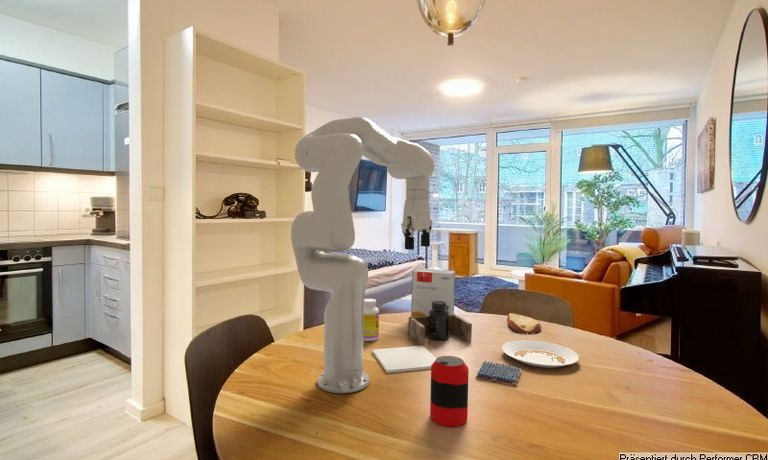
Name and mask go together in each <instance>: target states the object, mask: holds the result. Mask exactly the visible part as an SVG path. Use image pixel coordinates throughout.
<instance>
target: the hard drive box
mask: <svg viewBox="0 0 768 460" xmlns="http://www.w3.org/2000/svg"><path fill="white" fill-rule="evenodd" d="M411 271H412V272H411V273H412V274H411V275H412V276H411V302H410V303H411V309H410V317H418V316H429V311H430V310H432V302H433V301H444V302H446V310H447V311H448V312H449V315H450V314H455V295H456V294H455V290H456V289H455V287H456V286H455V285H456V271H455V270H445V269H433V268H432V269H430V268H415V269H413V270H411Z"/></svg>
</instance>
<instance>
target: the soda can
mask: <svg viewBox="0 0 768 460" xmlns="http://www.w3.org/2000/svg"><path fill="white" fill-rule="evenodd" d="M436 358H437V359H436V360H435V361H434V363H433V364H432V365H431V369H430V398H429V399H430V403H429V404H430V405H429V407H430V410H429V417H430V419H432V421H433V422H434V423H435V424H437V425H439V426H442V427H448V428H457V427H460V426H463V425H464V424H465V423H466V422H467V421H468V414H469V413H468V411H469V410H468V409H469V406H468V404H469V374H470V373H469V370H470V369H469V367H468V366H467V364H466V362H465V361H464V359H462V358H460V357H458V356H453V355H441V356H438V357H436Z"/></svg>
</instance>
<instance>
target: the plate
mask: <svg viewBox="0 0 768 460" xmlns="http://www.w3.org/2000/svg"><path fill="white" fill-rule="evenodd" d="M501 349H502V352H504V354H506V355H507V356H509V357H511V358H513V359H515V360H517V362H520V363H522V364H524V365H525V364H526V365H528V366H533V367H538V368H547V369H549V368H553V369H554V368H559V367H564V366H568V365H573V364H575V363H577V362H578V361H579V359H580V356H579V354H578V353H577V352H575V351H574V350H572V349H571V348H569V347H566V346H562V345H560V344H557V343H553V342H549V341H548V342H547V341H542V340H536V339H535V340H534V339H533V340H532V339H531V340H530V339H529V340H528V339H522V340H521V339H520V340H519V339H518V340H512V341H507V342H505V343H504V344H503V345H502V346H501ZM519 350H529V353H528V352H527V354H526V353H525V354H526V355H524V357H522V356H520V355H517V356H515V355H514V354H515V352H517V351H519ZM530 350H540V351H546V352H550V353H553V354H556V355H558V356H561V357H562V358H563V359H565V363H564V364H562V363H561V362H558V360H557V359H556V358H557V356H554V355H552V356H549V355H550V354H549V355H546V354H547V353H544V354H542V353H543V352H542V353H535V352H533V353H530ZM547 356H548V357H547ZM552 357H553V361H552V359H551V358H552ZM554 357H556V358H554Z"/></svg>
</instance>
